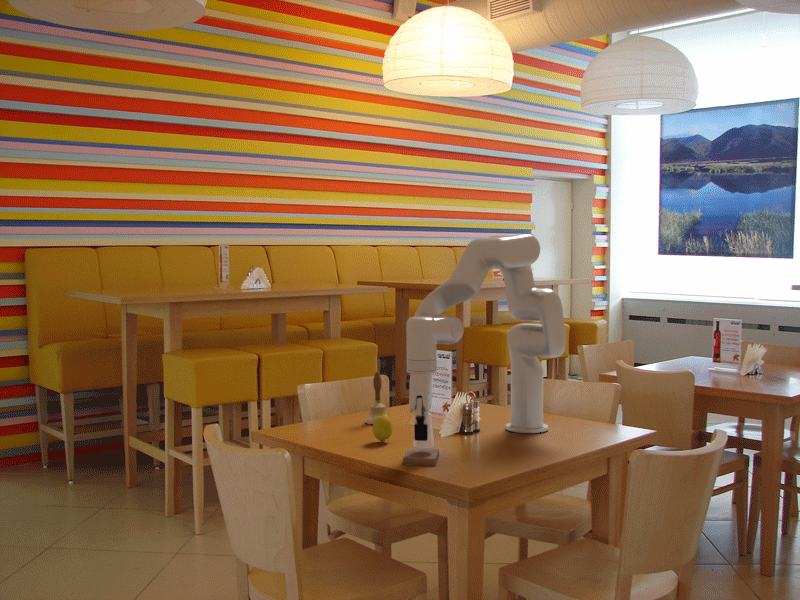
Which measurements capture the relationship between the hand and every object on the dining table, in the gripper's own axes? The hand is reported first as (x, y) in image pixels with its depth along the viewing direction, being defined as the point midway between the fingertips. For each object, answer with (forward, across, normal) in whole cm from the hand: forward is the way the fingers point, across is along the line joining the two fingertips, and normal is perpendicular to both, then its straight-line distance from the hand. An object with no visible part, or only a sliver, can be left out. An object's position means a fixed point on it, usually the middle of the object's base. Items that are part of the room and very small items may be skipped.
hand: (422, 437), depth 193 cm
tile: (+5, -4, 0) cm, 6 cm away
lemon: (+6, -17, -13) cm, 22 cm away
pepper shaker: (+2, 0, 0) cm, 3 cm away
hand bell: (+6, -44, -19) cm, 49 cm away
